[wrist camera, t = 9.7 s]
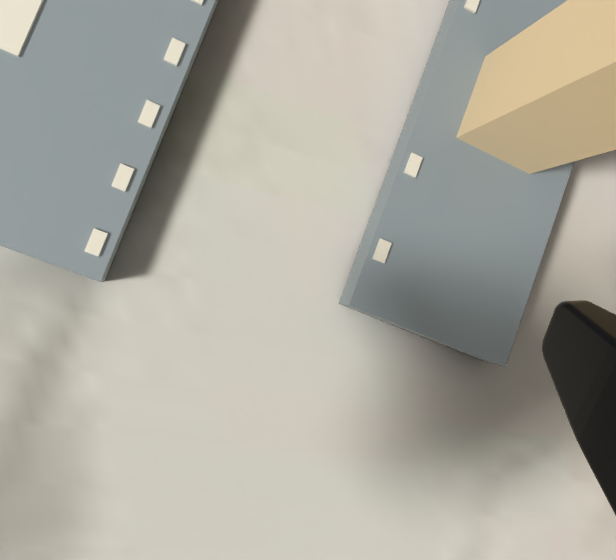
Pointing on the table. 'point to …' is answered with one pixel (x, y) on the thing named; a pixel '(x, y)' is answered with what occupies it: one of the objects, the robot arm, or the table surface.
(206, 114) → the table surface
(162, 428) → the table surface
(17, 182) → the board
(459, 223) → the grey slab with post
